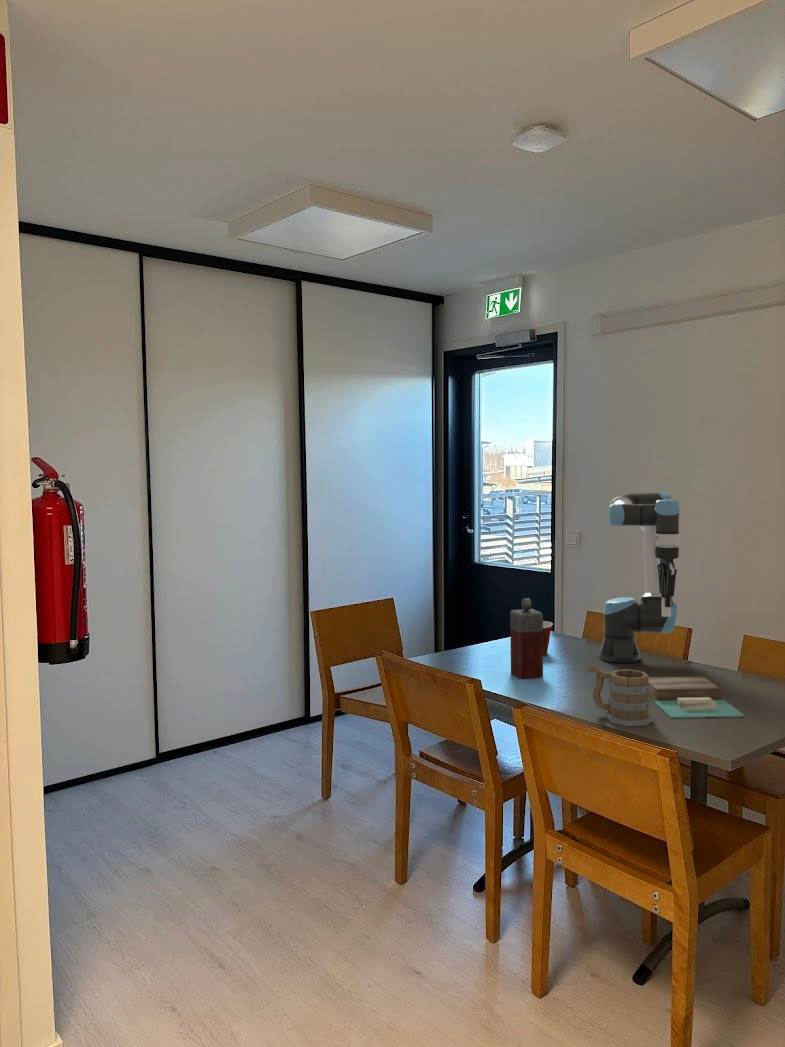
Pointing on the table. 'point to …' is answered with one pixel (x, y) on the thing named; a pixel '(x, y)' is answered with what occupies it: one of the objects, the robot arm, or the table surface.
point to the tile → (697, 703)
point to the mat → (677, 712)
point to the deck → (682, 688)
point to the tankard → (624, 696)
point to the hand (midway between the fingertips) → (666, 616)
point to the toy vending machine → (527, 642)
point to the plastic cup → (547, 630)
